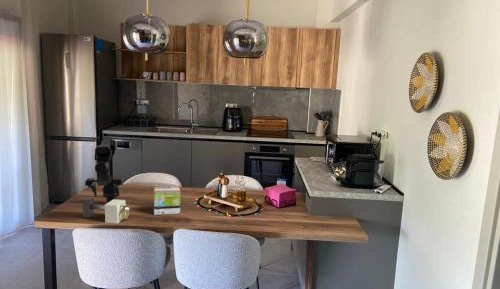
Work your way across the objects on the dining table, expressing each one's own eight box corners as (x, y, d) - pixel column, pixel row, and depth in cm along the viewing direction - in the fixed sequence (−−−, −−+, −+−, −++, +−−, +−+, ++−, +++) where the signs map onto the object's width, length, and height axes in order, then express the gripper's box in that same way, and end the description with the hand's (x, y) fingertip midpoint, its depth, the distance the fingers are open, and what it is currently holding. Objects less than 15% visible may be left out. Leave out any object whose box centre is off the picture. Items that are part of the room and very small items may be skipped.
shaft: (87, 214, 217) (86, 197, 216) (131, 217, 214) (130, 200, 212) (83, 217, 213) (82, 199, 212) (127, 220, 210) (127, 202, 208)
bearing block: (114, 216, 218) (113, 199, 217) (125, 217, 218) (125, 200, 216) (105, 222, 209) (104, 204, 207) (117, 223, 208) (117, 205, 206)
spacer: (127, 215, 216) (127, 202, 215) (129, 215, 216) (129, 203, 214) (121, 220, 209) (121, 207, 207) (123, 220, 208) (123, 207, 207)
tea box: (154, 215, 221) (153, 191, 219) (153, 210, 231) (153, 186, 228) (180, 213, 225) (180, 189, 223) (178, 208, 235) (178, 185, 232)
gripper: (82, 173, 198) (83, 202, 200) (120, 172, 202) (121, 200, 205) (86, 168, 208) (87, 195, 211) (122, 167, 212) (123, 194, 215)
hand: (104, 196), depth 210 cm, fingers open, 9 cm apart
